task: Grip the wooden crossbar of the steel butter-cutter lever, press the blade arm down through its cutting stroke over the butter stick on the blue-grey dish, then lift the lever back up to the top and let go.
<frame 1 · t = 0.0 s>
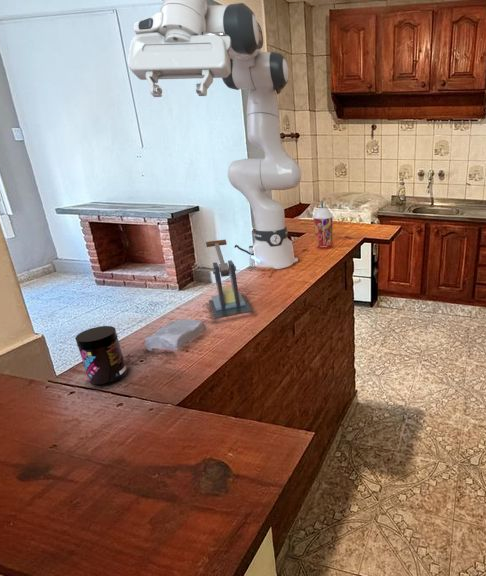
hand: (178, 95, 81), 54 cm above the worktop, tool tilted 30°, fingers open, 8 cm apart
smoothie: (324, 247, 175), on the worktop
butter cutter: (230, 309, 114), on the worktop
supplement container: (109, 379, 82), on the worktop
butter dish: (228, 305, 116), resting on butter cutter
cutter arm: (220, 256, 113), point 14 cm above the worktop, hinge at 25.0°
stone block: (175, 341, 97), on the worktop
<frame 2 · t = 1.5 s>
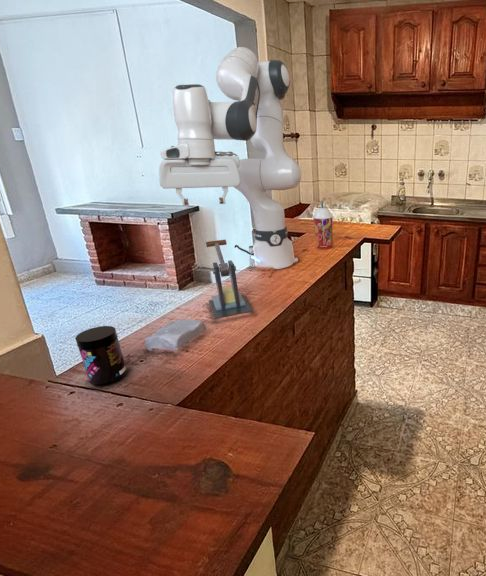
hand: (204, 204, 109), 29 cm above the worktop, tool pointing down, fingers open, 8 cm apart
nothing on the worktop moved.
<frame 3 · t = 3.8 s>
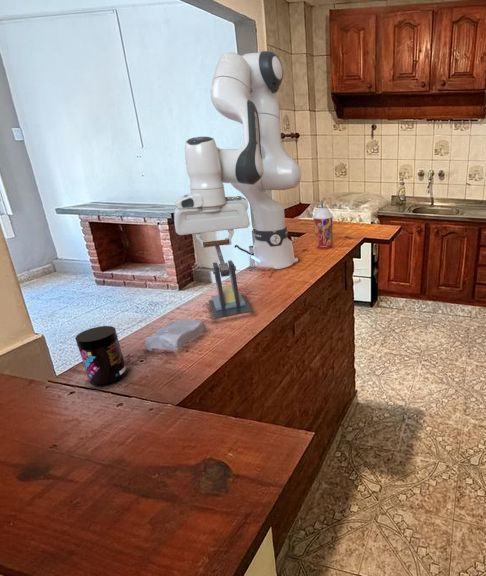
hand: (216, 246, 117), 16 cm above the worktop, tool pointing down, fingers closed on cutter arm, 5 cm apart
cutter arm: (220, 256, 113), point 14 cm above the worktop, hinge at 25.0°, touching gripper
everything else where it was.
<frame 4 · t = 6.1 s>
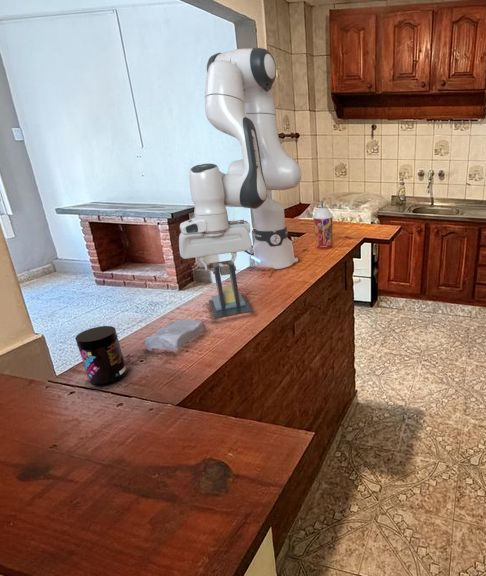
hand: (219, 268, 120), 9 cm above the worktop, tool pointing down, fingers closed on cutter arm, 5 cm apart
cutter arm: (221, 267, 114), point 11 cm above the worktop, hinge at -8.3°, touching gripper
everything else where it was.
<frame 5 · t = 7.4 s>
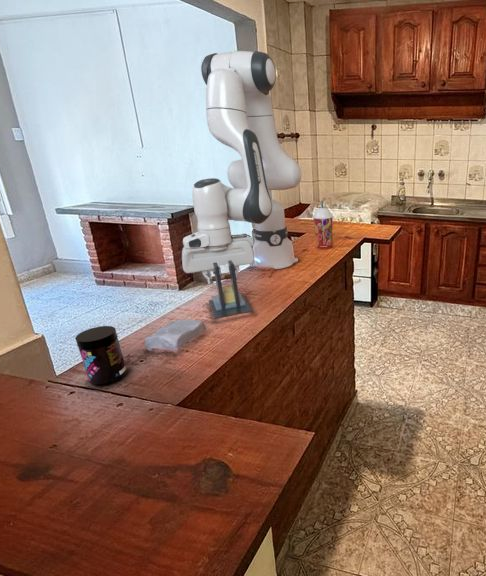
hand: (222, 281, 120), 5 cm above the worktop, tool pointing down, fingers closed on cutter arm, 5 cm apart
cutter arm: (223, 273, 114), point 9 cm above the worktop, hinge at -27.7°, touching gripper
everything else where it was.
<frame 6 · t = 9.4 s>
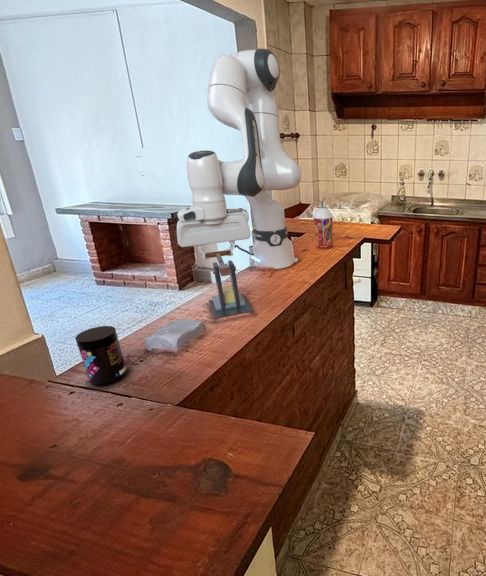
hand: (218, 257, 119), 13 cm above the worktop, tool pointing down, fingers closed on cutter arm, 5 cm apart
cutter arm: (221, 262, 114), point 13 cm above the worktop, hinge at 7.4°, touching gripper
everything else where it was.
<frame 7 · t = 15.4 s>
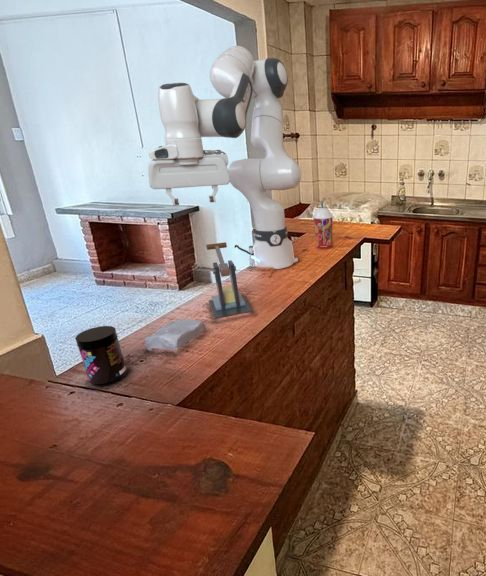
hand: (194, 203, 110), 29 cm above the worktop, tool pointing down, fingers open, 8 cm apart
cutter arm: (220, 258, 113), point 14 cm above the worktop, hinge at 20.1°
everything else where it was.
at the end: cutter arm reached -28° during the clip, +20° at the end; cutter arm at +20° (first picture: +25°) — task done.
